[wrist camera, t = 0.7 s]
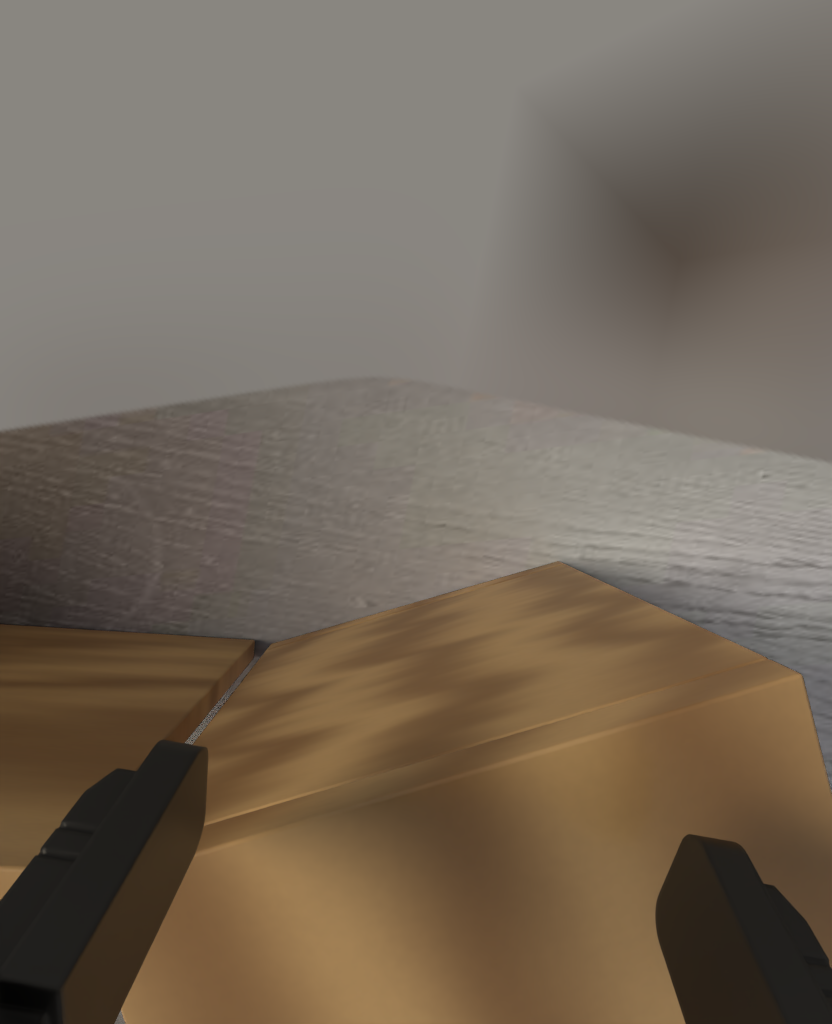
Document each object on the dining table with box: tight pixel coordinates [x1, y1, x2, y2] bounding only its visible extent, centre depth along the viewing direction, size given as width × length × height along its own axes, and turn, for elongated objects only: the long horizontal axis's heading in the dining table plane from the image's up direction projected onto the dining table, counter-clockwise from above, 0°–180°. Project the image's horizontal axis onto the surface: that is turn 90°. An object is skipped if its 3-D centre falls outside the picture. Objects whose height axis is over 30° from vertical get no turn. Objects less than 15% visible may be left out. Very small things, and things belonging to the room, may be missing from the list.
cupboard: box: [121, 561, 832, 1024], centre depth 19 cm, size 14×22×16 cm, turn 16°
